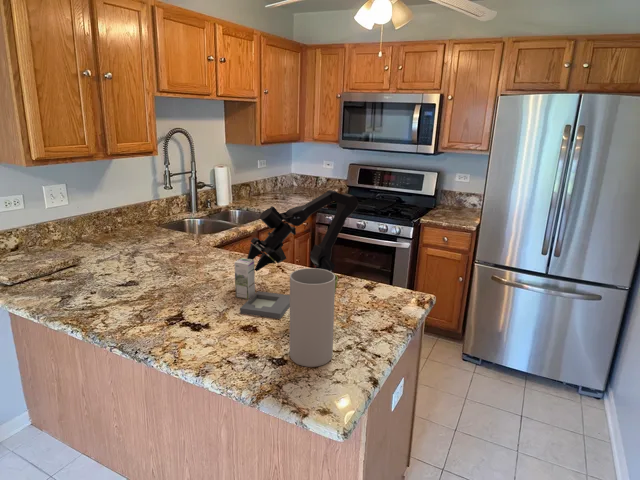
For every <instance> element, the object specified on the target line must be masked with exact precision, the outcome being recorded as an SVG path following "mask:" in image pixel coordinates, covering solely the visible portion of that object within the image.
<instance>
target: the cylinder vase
mask: <svg viewBox="0 0 640 480" xmlns="http://www.w3.org/2000/svg"><path fill="white" fill-rule="evenodd" d="M334 274H335V272H333V271H332V272H330V271H328V270H324V269H318V268H316V267H308V268H305V267H304V268H300V269H297V270H294V271H292V272H291V273H290V274H289V295H290V307H289V357H290V360H292V362H293V363H295V364H297V365H299V366H301V367H305V368H306V367H309V368H315V367H321V366H324V365H326V364H327V363H329V362H330V361H331V359H333V358H332V357H333V355H334V354H333V351H334V348H333V347H334V328H335V327H334V324H335V323H334V322H335V300H336V299H335V297H336V292H335V275H336V274H335V275H334Z"/></svg>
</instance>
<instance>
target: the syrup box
mask: <svg viewBox="0 0 640 480" xmlns="http://www.w3.org/2000/svg"><path fill="white" fill-rule="evenodd" d="M233 263H234V282H235V286H234V288H235V298H240V299H245V300H249V299H250V298H251V297H252V296H253V295H254V294H255V293H256V287H255V284H256V282H255V280H256V278H255V277H256V275H255V259H253V260H252V259H247V258H246V257H245V258H244V257H240V258H238V259H236V261H234V262H233Z"/></svg>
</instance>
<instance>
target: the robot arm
mask: <svg viewBox="0 0 640 480" xmlns="http://www.w3.org/2000/svg"><path fill="white" fill-rule="evenodd" d="M358 200H359V199H358V197H356V196H355V195H352V194H349V193H340V192H337V191H336V190H333V189H329V190H327V191H326V192H324V193H322V194H321V195H319V196H318V197H316V198H314V199H312V200H311V201H309V202H307V203H304V204H302V205H299V206H294V207H292V208H290V209H287V210H286V211H284V212H281V213H280V212H279V211H278V210H277V209H276V208H275V207H274V205H272V206H270V207H268V208H266V209H265V210H263V211H262V212H261V214H260V216H259V220H261V221H262V222H263V223H264V224H265V225H266V226H267V227H268V228H269V229H273V230H272V231H271V232H270V231H268V232H267V237H266V238H265V239H264V240H263V239H261V240H260V239H259V238H258V237H253V238H252V239H251V240H250V247H249V251H248V254H247V257H246V259H252V260H255V258H257V256H259V255H260V257H259V259H258V261H257V263H256V265H255V266H254V271H256V272H258V271H259V270H261V269H262V268H265V267H266V266H267V265H270V264H274V265H275V264H280V263H282V262H283V261H285V260H286V259H287V256H286V254H285V252H284V250H283V248H282V247H284V243H283V242H284V241H285V240H286V239H287V237H288V236H289V235H290V234H293V235H294V236H296V235H297V231H296V230H297V228H296V227H299V226H301V225H303V224H304V223H305V222H306V221H307V220H308V219H309V217H310V216H311V215H313V214H314V213H316V212H318V211H319V210H322V209H323V208H325V207H326V206H328V205H330V204H331V203H333V202H337V203H336V212H335V215H334V216H333V218H332V220H331V222H330V224H329V226H328V228H327V231H326V232H325V235H324V237H323V238H322V241H321V242H320V243H319V244H314V245H313V247H312V250H311V251H310V252H309V253H310V255H309V256H310V257H309V258H310V260H311V262H312V263H313V264H314V266H316V267H315V268H318V269H324V270H328V271H330V272H332V273H333V271H334V270H335V266H336V264H335V263H334V262H332V261H331V258H332V252H333V251H332V249H333V246H334V244H335V243H336V241H337V238H338V236H339V235H340V232H341V230H342V228H343V226H344V224H345V222H346V220H347V218H349V217H350V215H352V214H353V213H354V212H355V210H356V209H357V208H358V206H359V201H358ZM291 225H292V226H291Z"/></svg>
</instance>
